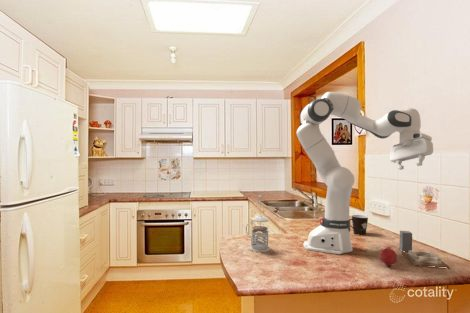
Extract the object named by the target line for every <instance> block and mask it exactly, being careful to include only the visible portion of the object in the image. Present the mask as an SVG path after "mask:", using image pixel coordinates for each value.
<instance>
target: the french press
mask: <svg viewBox="0 0 470 313" xmlns="http://www.w3.org/2000/svg"><path fill="white" fill-rule="evenodd" d="M258 199H259V210H260V211H259V213H261V199H263V195H258ZM251 220H252V221H250V222H248V223H247V224H246V226H245V233H246V235H247V236H248V237H249V238H250V242H251V243H250V244H251V245H250V247H249V250H250V249H251V250H250V251H252V250H253V251H252V252H256V251H257V253H266V252H268V251H270V250H271V248H270V247H269V230H268V226H261V225H257V226H256V225H255V226H253V227H252V231H251V235H250V234H249V233H248V226H249V224H251V225H253V224H254V223H253V222H257V223H258V222H259V223H267V222H269V218H268V217H266V216H263V215H255V216H253V217H251Z"/></svg>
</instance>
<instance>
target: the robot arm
mask: <svg viewBox="0 0 470 313" xmlns="http://www.w3.org/2000/svg"><path fill="white" fill-rule="evenodd" d="M361 110H362V104H361V102H360V100H359V99H358V98H356V97H354V96H352V95H349V94H345V93H341V92H335V91H327V92H325V93H324V94H323V95H322V96H321V98H317V99H314V100H312V101H311V102H310V103H308V104H306V105H305V106H304V107H303V109H302V110H301V111H300V113H299V125H300V126H299V127H298V128H297V130H296V136H297V139H298V141H299V143H300V145H301V146H302V149H303V150H304V152H305V153H306V155H307V156H308V158H309V159H310V161H311V162H312V164H313V165H314V167H315V169H316V171H317V173H318V175H319V176H320V178H321V180H322V181H323V183H324V184H325V186H326V187H327V188H326V195H325V196H326V197H325V200H324V217H323V216H320V217H319V218H318V220H319V222H320V225H318V226H316V227H315V228H314V229H312V230H311V231H310V232H309V234H308V236H307V239H306V240H304V241H303V248H304V249H305V250H307V251H314V252H321V253H327V254H332V255H333V254H335V255H343V254H346V253H351V252H353V249H354V248H353V247H352V246H353V245H352V241H351V233H350V232H351V227H350V225H351V220H350V219H351V218H350V205H351V204H350V203H351V198H352V191H353V186H354V184H355V176H354V174H353V172H352V171H351V170H350V169H349V168H347V167H345V166H342V165H341V164H340V162H339V160H338V159H337V156H336V154H335V151H334V150H333V148H332V147H331V145H330V144H329V142H328V141H327V139H326V138H325V136H324V135H323V134H322V132H321V130H320V124H322V123H324V121H326V120H327V119H328V118H329V117H330V116H335V117H338V118H341V119H344V120H345V121H346V122H348V123H349V124H351V125H353V126H355V127H358V128H359V129H362V130H364V131H367V132H369V133H371V134H372V135H373V136H374V137H376V138H379V139H387V138H389V137H390V136H392V134H394V133H396V132H398V133H399V141H398V142H399V143H398V144H394V145H393V146H392V147H391V149H390V152H389V161H390V162H391V163H394V164H396V165H397V167H398V170H399V171H400V170H404V167H405V166H404V165H403V164H402V163H403V162H405V161H409V160H414V159H418V160H417V161H416V166H418V167H421V166H423V161H424V160H425V158H426V157H427V156H431V155H432V154H433V153H434V143H433V142H432V138H433V137H432V136H430V135H428V134H426V133H424V132H423V133H422V132H421V127H422V126H421V115H420V113H419V111H418V110H417V109H416V108H413V107H412V108H411V107H408V108H404V109H401V110H398V109H393V110H390V111H389V112H387V113H385V115H383V116H382V117H381V118H378V119H371V118H370V117H367V116H365V115H362V114H361V112H362V111H361ZM425 156H426V157H425Z"/></svg>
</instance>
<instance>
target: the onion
mask: <svg viewBox="0 0 470 313" xmlns="http://www.w3.org/2000/svg"><path fill="white" fill-rule="evenodd" d="M397 255H398V254H397V253H396V252H395V250H393V249H392V247H391V246H390V245H389V246H387V247H386V248H384V249H382V250H381V253H380V257H379V258H380V260H381V262H383V264H384V265H386V266H387V267H391V266H392V265H394V264H396V263H397V262H398V256H397Z"/></svg>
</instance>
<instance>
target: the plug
mask: <svg viewBox="0 0 470 313" xmlns="http://www.w3.org/2000/svg"><path fill="white" fill-rule="evenodd" d="M400 249H401V250H402V251H405V252H404V253H406V252H409V250H413V232H412V231H410V230H399V250H400ZM401 250H400V251H401ZM402 251H401V252H402Z"/></svg>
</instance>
